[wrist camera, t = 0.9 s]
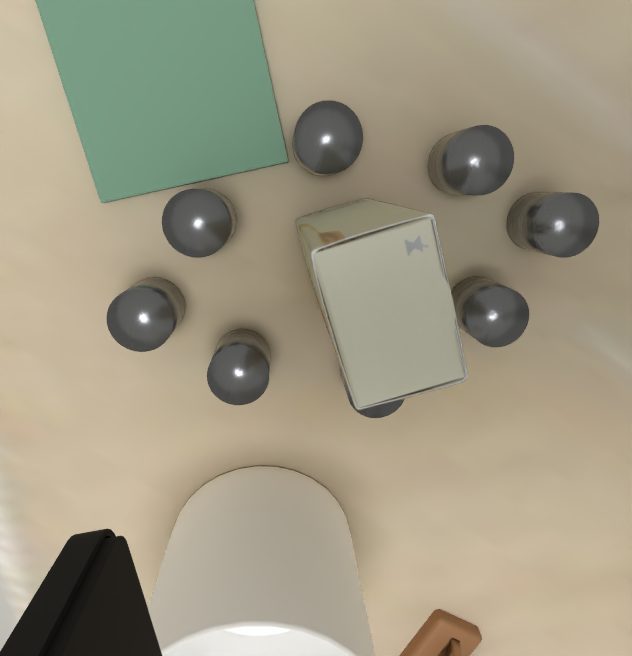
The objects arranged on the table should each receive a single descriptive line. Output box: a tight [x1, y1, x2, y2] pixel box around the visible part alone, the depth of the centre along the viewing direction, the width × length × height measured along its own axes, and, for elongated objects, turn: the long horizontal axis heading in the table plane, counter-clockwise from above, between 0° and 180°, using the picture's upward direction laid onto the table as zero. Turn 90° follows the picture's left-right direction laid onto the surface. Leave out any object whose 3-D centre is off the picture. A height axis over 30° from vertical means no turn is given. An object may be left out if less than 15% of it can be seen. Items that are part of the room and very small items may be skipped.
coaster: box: [36, 0, 288, 203], centre depth 25 cm, size 10×10×1 cm
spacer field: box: [107, 101, 599, 418], centre depth 27 cm, size 25×16×4 cm, turn 102°
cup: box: [148, 466, 375, 656], centre depth 27 cm, size 12×12×12 cm
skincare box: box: [296, 198, 468, 410], centre depth 23 cm, size 6×4×12 cm
